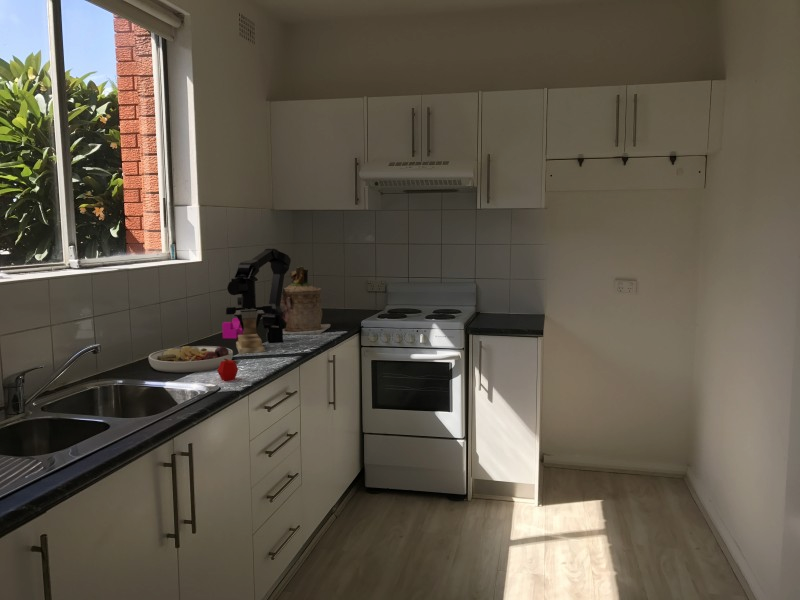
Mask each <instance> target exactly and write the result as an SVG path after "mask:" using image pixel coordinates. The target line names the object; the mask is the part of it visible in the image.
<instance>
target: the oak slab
mask: <svg viewBox="0 0 800 600" xmlns="http://www.w3.org/2000/svg"><path fill="white" fill-rule="evenodd" d="M237 342H238V343H239V345H240V346H241V348H242V349H244V348H260V347H262V344H263V342H262V339H261V337H260V336H259V335H258V333H256V334H244V335H238V338H237Z"/></svg>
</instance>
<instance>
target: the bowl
mask: <svg viewBox="0 0 800 600" xmlns="http://www.w3.org/2000/svg"><path fill="white" fill-rule="evenodd" d="M233 356H234V351H233V350H232V349H230V348H228V347H224V346H213V345H196V346H189V345H186V346H184V345H183V346H181V347H180V346H179V347H173V348H166V349H161V350H158V351H155V352H152V353H150V354H149V355H148V362H149V365H150V366H151V368H153V369H154V370H156V371H159V372H164V373H165V372H166V373H195V372H196V373H197V372H205V371H211V370H215V369H217V370H218V368H219V366H220V363H221V361H226V360H224V358H225V359H228V360H232V359H233ZM232 361H233V360H232Z"/></svg>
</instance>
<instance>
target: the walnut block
mask: <svg viewBox="0 0 800 600" xmlns="http://www.w3.org/2000/svg"><path fill="white" fill-rule="evenodd" d="M242 320H243V326H244V330H243V333H244V335H247V334H257V330H256V317H242Z"/></svg>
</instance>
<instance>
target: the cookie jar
mask: <svg viewBox="0 0 800 600" xmlns="http://www.w3.org/2000/svg"><path fill="white" fill-rule="evenodd" d="M308 272H309V270H308V269H307V268H305V267H304V266H302V265H301V266H296V270H294V271H293V270H291V271H290V273H289V277H290V279H291V280H292V281H291V283H290V284H289V285H288V286H287V287H284V288H282V295H281V297H282V300H281V302H280V307H282V308H283V312H282V313H283V319H284V320H285V322H286V323H287V325H286V328H285V329H283V335H318V336H319V335H321V334H322V333H324V332H325V331H326V330H328V329H329V328H330V329H331V324H330V323H324V324H323V323H322V318H323V309H322V301H321V292H322V288H321V287H315V286H314V285H311V284H310V283H309V282H308V277H309V276H308V274H309V273H308Z"/></svg>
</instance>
